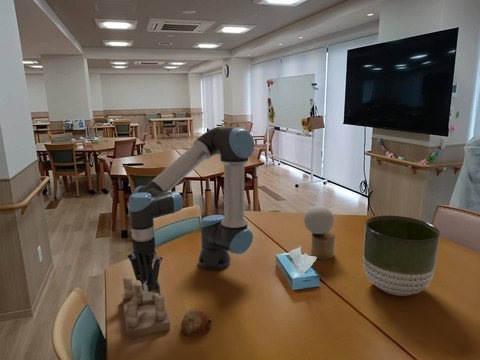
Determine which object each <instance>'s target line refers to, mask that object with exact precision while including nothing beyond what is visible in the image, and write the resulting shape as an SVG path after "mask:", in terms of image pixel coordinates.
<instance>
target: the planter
mask: <svg viewBox="0 0 480 360" xmlns="http://www.w3.org/2000/svg"><path fill="white" fill-rule="evenodd" d="M364 224H365V225H364V234H363V235H364V237H363V255H362V264H363V269H364V272H365V274H366V277H367V279H368V280H369V281H370V282H371V283H372V285H374V286H375V287H376V288H377V289H379V290H381V291H383V292H385V293H387V294H390V295H393V296H398V297H400V296H401V297H403V296H405V297H406V296H407V297H408V296H413V295H416V294H419V293H421V292H423V291H425V289H427V287H428V286H429V285H430V283H431V282H432V279H433V278H434V274H435V271H436V263H437V256H438V252H439V244H440V239H441V231H440V229H438V228H437V226H436V225H435V226H434V225H433V224H432V223H429V222H427V221H424V220H421V219H418V218H413V217H410V216H409V217H407V216H402V215H401V216H400V215H377V216H373V217H371V218H368V219H367V220H366V221H365V223H364Z"/></svg>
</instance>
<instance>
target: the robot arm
mask: <svg viewBox="0 0 480 360" xmlns="http://www.w3.org/2000/svg"><path fill="white" fill-rule="evenodd" d="M254 149H255V139H254V136H253V135H252V134H251V133H250V131H249V130H246V128H245V129H244V128H240V127H225V126H224V127H223V126H218V127H213V128H211V129H209V130H208V131H206V132H204V133H203V134H202V135H200V136H199V137H197V139H195V140H194V141H193V143H192V146H191V147H190V148H188V150H186V151H184V153H183V154H182V155H180V156H179V157H177V159H175V160H174V161H173V162H172V163H171V164H169V166H166V168H165V169H164V170H162V171H161V173H159V174H158V175H156V177H154V178H153V179H152V180H151V181H150V182H148V184H146V185H139V186H136V188H134V190H133V192H132V194H130V195H129V197H128V212H129V220H130V229H131V230H130V231H131V238H132V250H133V252H132V253H130V254H128V255H127V258H128V260H129V262H130V263H131V267H132V270H133V274H134V277H135V279H136V281H137V282H138V281H140V282H139V283H142V290H143V291H144V300H146V301H149V300H150V299H151V298H152V290H153V283H154V282H156V281H157V280H158V281H159V273H160V267H161V263H162V261H163V257H161V256H160V257H159V256H158V255H157V252H156V249H155V248H156V240H155V239H156V238H155V225H154V223H155V222H154V219H157V218H161V217H165V216H168V215H171V214H175V213H177V212H180V211H181V210H182V209H183V206H184V199H183V196H182V195H181V194H180V192H178V191H171V190H172V189H173V188H174V187H175V186H177V185H178V183H180V182H181V181H182V180H183V179H184V178H185V177H186V176H188V175H189V174H190V173H191V172H192V171H193V170H194V169H195V168H196V167H198V166H199V165H200V164H201V163H202V162H203V161H205V160H209V159H210V158H211V157H212V156H215V155H220V156H219V157H220V162H221V163H222V164H223V166H224V167H223V170H224V171H223V175H224V176H223V178H224V179H223V182H224V183H223V189H224V193H223V195H224V197H223V198H224V201H223V204H224V207H223V208H224V213H223V214H224V215H223V214H212V215H207V216H205V217H203V218H202V219H200V239H201V241H200V242H201V249H200V252H199V256H198V265H199V266H200V268H202V269H204V270H209V271H210V270H211V271H218V270H222V269H225V268H226V267H228V266H229V265H230V264H231V256H230V253H232V254H235V255H242V254H244V253H246V252H247V251H248V250H249V248H250V247H251V246H252V243H253V239H254V235H253V232H252V230H250V229H249V228H248V221H247V220H246V219H245V168H246V164H247V163H248V162H249V158H250V157H251V156H252V155H253V152H254Z"/></svg>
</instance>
